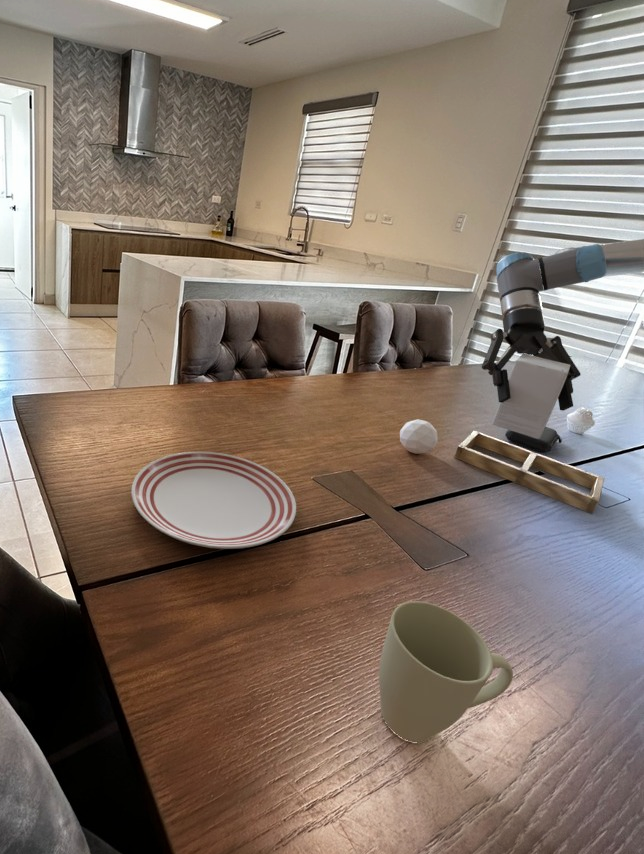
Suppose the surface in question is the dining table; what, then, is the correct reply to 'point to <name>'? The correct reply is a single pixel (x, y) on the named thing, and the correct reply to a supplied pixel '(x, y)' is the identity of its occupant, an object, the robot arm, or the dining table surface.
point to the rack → (528, 478)
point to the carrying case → (535, 444)
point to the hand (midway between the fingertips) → (535, 404)
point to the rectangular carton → (531, 395)
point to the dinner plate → (213, 500)
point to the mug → (434, 670)
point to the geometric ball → (418, 436)
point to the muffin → (580, 420)
